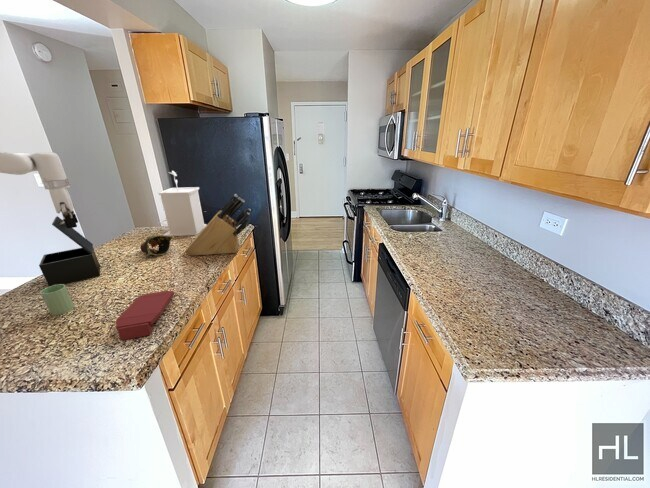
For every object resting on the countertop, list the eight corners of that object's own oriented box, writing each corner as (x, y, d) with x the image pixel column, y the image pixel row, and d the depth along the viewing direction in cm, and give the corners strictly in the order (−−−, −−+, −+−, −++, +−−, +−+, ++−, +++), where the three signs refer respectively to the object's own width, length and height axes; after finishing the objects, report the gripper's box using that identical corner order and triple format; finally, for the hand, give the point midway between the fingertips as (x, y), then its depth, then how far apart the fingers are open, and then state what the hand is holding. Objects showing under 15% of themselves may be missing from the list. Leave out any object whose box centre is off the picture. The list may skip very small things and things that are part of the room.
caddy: (49, 288, 109) (38, 265, 105) (53, 276, 119) (43, 254, 115) (100, 275, 119) (92, 254, 115) (99, 265, 129) (92, 245, 124)
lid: (51, 224, 104) (64, 216, 106) (55, 217, 114) (67, 210, 115) (90, 254, 114) (101, 247, 116) (91, 245, 124) (101, 238, 126)
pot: (153, 230, 150) (167, 225, 140) (166, 245, 155) (182, 241, 145) (126, 249, 138) (140, 245, 128) (142, 264, 144) (156, 262, 134)
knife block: (253, 252, 142) (247, 196, 131) (185, 257, 137) (172, 199, 126) (255, 244, 153) (249, 192, 141) (192, 248, 148) (180, 194, 136)
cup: (46, 317, 91) (35, 295, 88) (56, 306, 97) (46, 286, 94) (69, 312, 94) (59, 291, 90) (77, 303, 99) (68, 282, 96)
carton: (142, 306, 103) (112, 341, 80) (139, 294, 102) (108, 327, 78) (176, 300, 106) (157, 333, 83) (174, 289, 105) (154, 319, 82)
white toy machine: (159, 236, 166) (142, 172, 151) (177, 223, 191) (164, 167, 176) (198, 235, 168) (185, 171, 153) (210, 222, 193) (200, 167, 178)
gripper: (46, 182, 110) (63, 222, 117) (40, 188, 98) (59, 232, 105) (70, 180, 115) (84, 219, 121) (67, 186, 102) (83, 228, 109)
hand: (72, 225), depth 113 cm, fingers open, 7 cm apart
